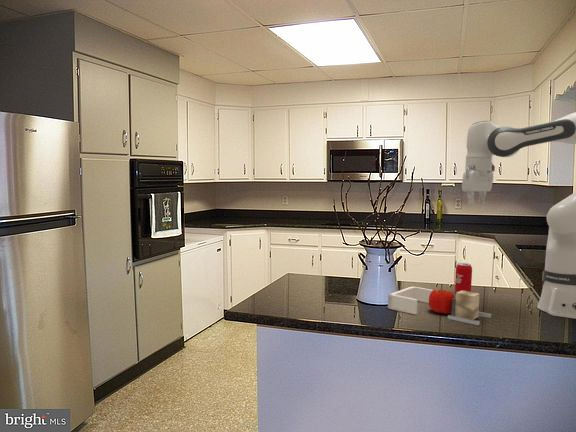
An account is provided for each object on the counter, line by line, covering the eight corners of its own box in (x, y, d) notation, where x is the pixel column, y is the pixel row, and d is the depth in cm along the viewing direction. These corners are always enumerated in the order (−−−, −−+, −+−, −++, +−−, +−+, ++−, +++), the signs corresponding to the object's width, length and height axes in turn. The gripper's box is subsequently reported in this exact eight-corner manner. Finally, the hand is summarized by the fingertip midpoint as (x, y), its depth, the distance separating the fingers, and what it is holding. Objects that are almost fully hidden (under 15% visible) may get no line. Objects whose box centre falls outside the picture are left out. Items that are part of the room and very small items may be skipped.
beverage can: (457, 290, 199) (459, 262, 198) (473, 293, 195) (474, 264, 194) (452, 293, 194) (453, 264, 193) (467, 295, 190) (469, 266, 189)
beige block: (479, 316, 161) (480, 293, 160) (471, 320, 156) (473, 296, 155) (459, 312, 166) (460, 289, 165) (451, 316, 160) (452, 292, 160)
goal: (438, 304, 177) (438, 290, 176) (415, 314, 163) (415, 300, 162) (411, 298, 183) (412, 286, 183) (387, 308, 170) (388, 294, 169)
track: (491, 317, 161) (491, 314, 161) (478, 325, 152) (478, 321, 152) (461, 311, 168) (461, 308, 167) (447, 318, 159) (447, 315, 158)
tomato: (438, 307, 173) (439, 286, 172) (460, 313, 165) (461, 292, 165) (421, 311, 167) (422, 289, 167) (442, 317, 160) (444, 295, 159)
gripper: (476, 165, 165) (473, 205, 167) (496, 167, 181) (494, 203, 182) (458, 165, 170) (456, 204, 171) (479, 167, 185) (477, 202, 186)
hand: (476, 203), depth 176 cm, fingers open, 8 cm apart
